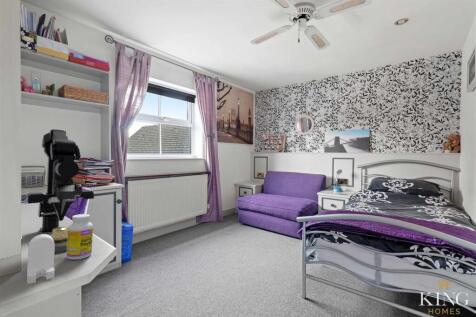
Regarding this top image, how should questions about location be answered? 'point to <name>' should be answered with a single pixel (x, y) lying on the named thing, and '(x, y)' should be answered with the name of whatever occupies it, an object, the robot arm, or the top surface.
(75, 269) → the top surface
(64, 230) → the gold rounded cylinder
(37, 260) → the cable organizer
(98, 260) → the top surface
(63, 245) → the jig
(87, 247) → the supplement bottle
